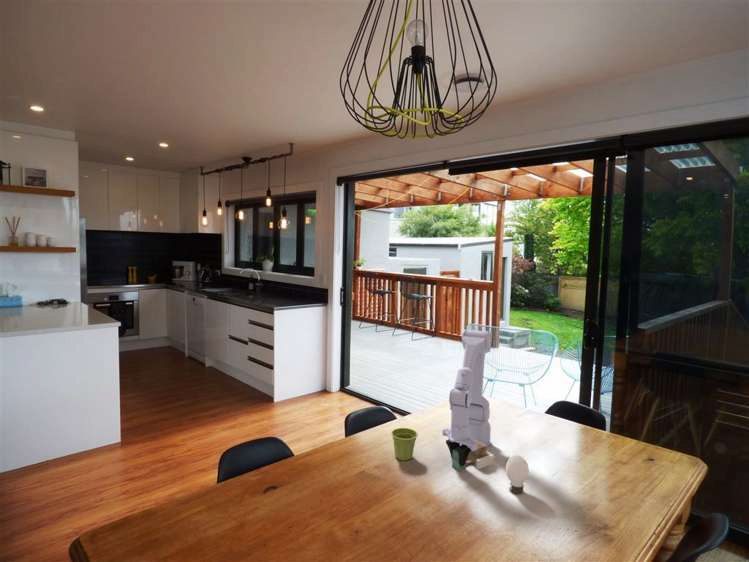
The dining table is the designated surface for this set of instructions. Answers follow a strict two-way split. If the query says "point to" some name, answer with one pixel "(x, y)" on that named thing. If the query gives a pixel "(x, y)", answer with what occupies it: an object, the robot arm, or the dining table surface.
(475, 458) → the tethered block
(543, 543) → the dining table surface
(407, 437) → the plant pot
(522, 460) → the light bulb
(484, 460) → the shelf lane
